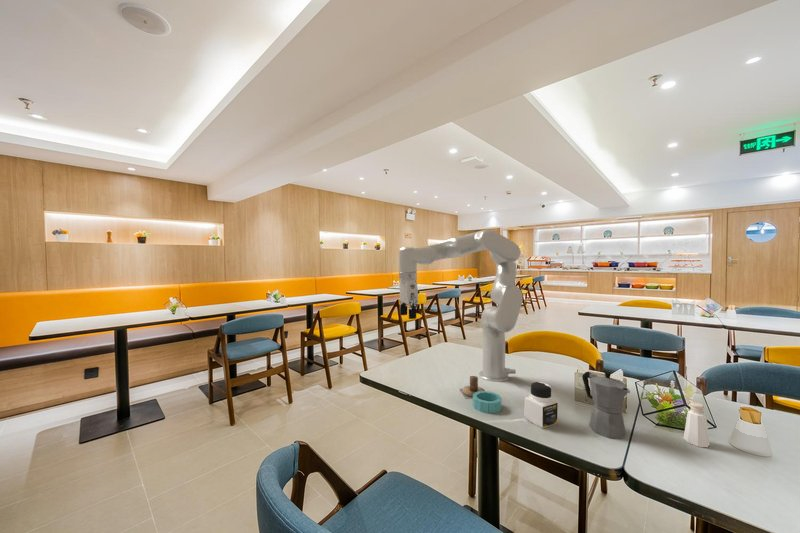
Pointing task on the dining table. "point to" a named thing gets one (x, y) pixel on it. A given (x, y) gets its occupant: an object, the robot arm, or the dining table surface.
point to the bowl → (487, 402)
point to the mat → (464, 395)
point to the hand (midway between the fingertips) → (407, 316)
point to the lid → (472, 387)
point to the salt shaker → (696, 426)
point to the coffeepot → (606, 404)
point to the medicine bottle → (541, 406)
